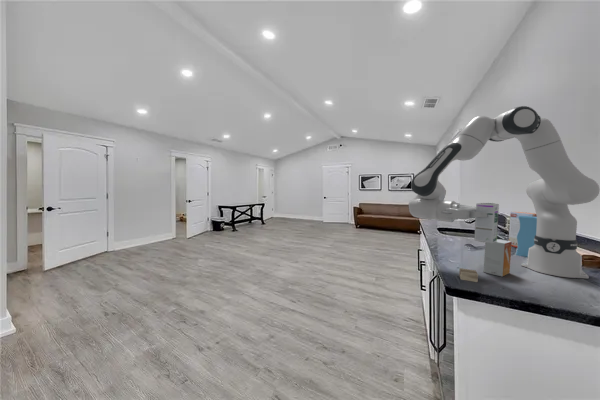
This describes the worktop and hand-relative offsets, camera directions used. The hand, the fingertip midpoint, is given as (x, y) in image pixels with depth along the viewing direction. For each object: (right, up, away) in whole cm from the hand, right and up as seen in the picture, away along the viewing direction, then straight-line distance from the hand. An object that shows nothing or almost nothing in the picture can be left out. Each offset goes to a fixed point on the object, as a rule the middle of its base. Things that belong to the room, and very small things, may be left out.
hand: (490, 214), depth 88 cm
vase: (+46, -23, +34) cm, 62 cm away
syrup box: (-1, -10, +1) cm, 10 cm away
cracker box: (+59, -23, +49) cm, 80 cm away
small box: (+8, -24, +7) cm, 26 cm away
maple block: (-8, -24, 0) cm, 25 cm away
